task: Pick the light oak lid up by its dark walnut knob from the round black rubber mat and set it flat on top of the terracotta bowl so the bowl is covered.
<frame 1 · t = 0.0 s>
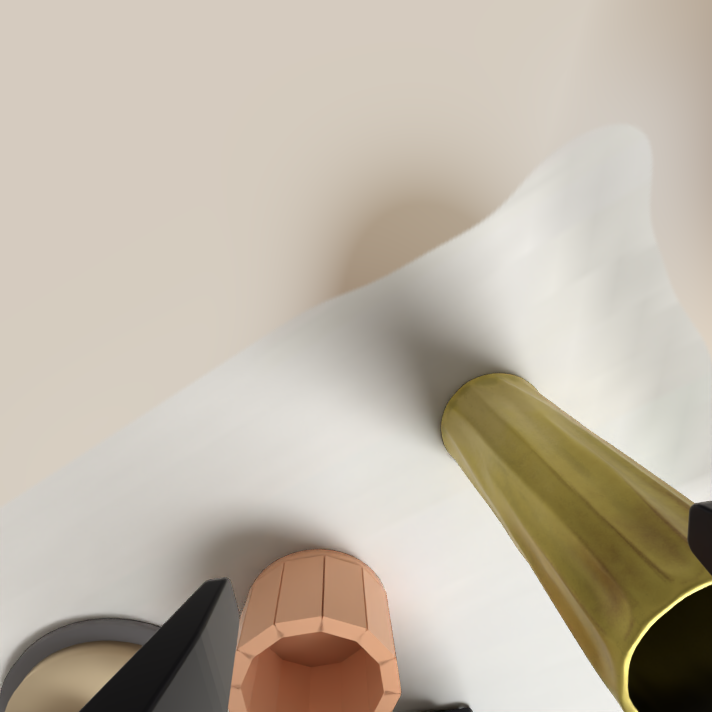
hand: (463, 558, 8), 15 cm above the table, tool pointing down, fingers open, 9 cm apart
bowl: (317, 608, 26), on the table
mat: (119, 706, 26), on the table
vase: (490, 421, 23), on the table
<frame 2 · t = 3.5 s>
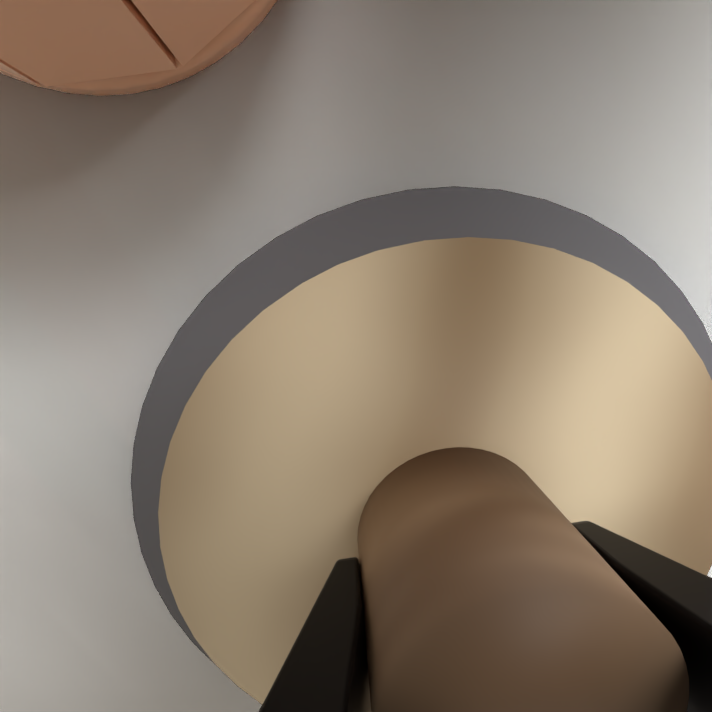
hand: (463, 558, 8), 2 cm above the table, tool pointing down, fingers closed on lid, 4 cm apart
mat: (434, 492, 10), on the table
lid: (440, 506, 9), point 1 cm above the table, touching gripper, mat
when the fingers open (8 cm above the table, at t = 7.5 s): lid drops 1 cm, resting on bowl.
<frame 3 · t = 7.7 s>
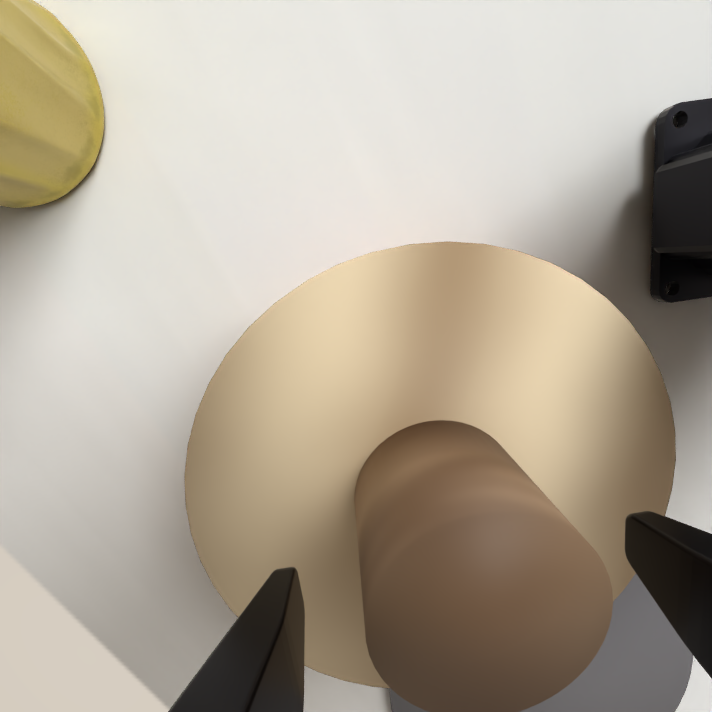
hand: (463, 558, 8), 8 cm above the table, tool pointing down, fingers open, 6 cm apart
mat: (536, 670, 19), on the table
vase: (11, 107, 13), on the table
lid: (426, 475, 11), point 5 cm above the table, touching bowl
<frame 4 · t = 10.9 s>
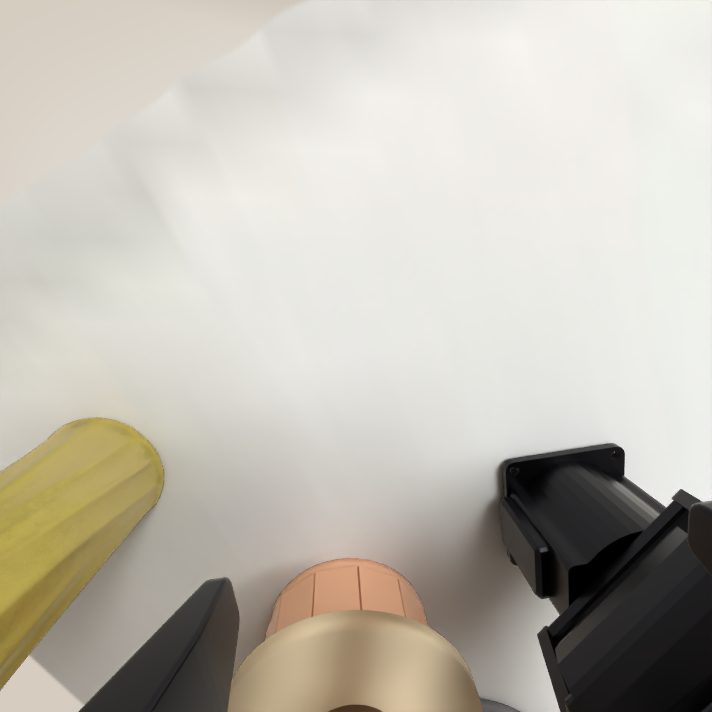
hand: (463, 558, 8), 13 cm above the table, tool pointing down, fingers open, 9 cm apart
bowl: (347, 621, 24), on the table
vase: (107, 469, 21), on the table
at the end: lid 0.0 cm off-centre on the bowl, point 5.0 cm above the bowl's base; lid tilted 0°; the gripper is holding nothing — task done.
